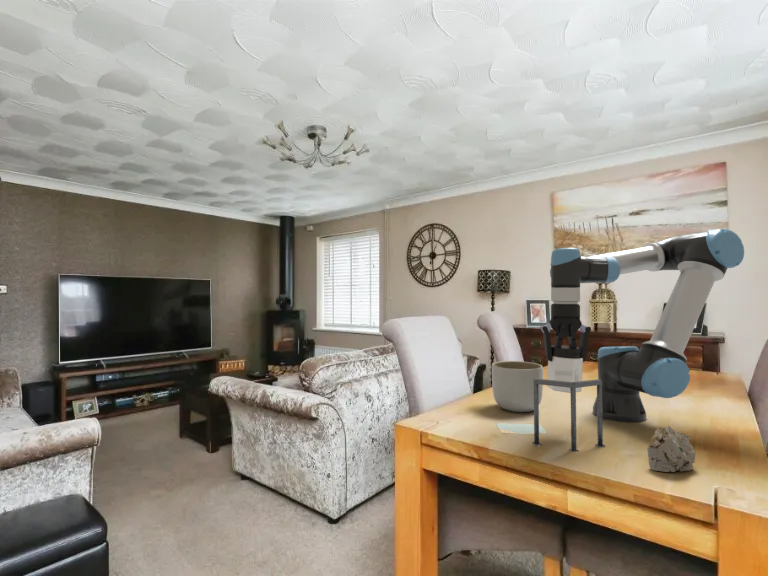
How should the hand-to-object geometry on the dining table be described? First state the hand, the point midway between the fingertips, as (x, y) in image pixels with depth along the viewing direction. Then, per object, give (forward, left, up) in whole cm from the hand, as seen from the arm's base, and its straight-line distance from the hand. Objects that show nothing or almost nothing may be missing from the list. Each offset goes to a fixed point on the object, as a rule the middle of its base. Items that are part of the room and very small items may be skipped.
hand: (565, 386), depth 114 cm
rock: (-16, +23, -14) cm, 32 cm away
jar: (0, 0, -1) cm, 1 cm away
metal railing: (+2, +8, -14) cm, 16 cm away
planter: (+7, -27, -14) cm, 31 cm away
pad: (+11, -2, -14) cm, 18 cm away
